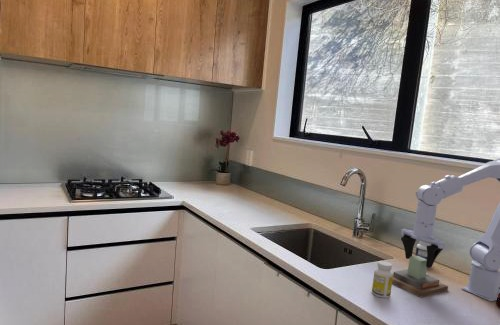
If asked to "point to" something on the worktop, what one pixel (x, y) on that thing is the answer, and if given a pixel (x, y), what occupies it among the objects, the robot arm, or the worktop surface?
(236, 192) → the worktop surface
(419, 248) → the pill bottle
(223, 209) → the worktop surface
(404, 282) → the stepped stand
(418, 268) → the green block
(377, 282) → the supplement bottle
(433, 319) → the worktop surface
